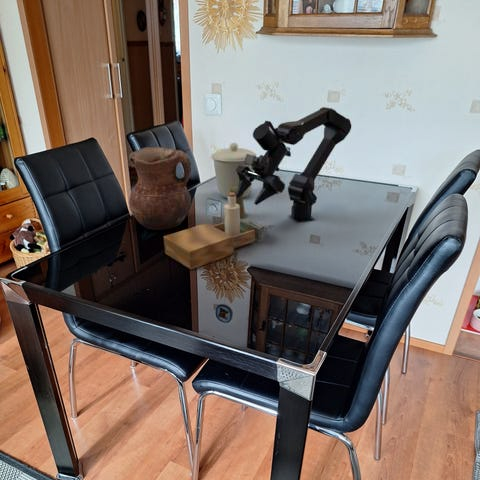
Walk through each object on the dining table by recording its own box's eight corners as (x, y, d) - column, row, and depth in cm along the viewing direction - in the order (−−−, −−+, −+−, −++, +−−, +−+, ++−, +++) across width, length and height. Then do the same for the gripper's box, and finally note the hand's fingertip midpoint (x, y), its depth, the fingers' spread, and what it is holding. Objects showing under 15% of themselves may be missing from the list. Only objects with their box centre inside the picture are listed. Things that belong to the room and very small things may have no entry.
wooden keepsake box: (207, 239, 146) (206, 223, 142) (233, 253, 137) (233, 236, 133) (165, 253, 137) (163, 236, 134) (190, 269, 128) (189, 251, 125)
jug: (142, 239, 147) (130, 163, 132) (125, 219, 162) (113, 149, 148) (202, 227, 155) (197, 154, 141) (181, 209, 170) (174, 142, 156)
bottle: (237, 233, 145) (236, 190, 137) (242, 238, 141) (241, 195, 133) (223, 234, 144) (221, 191, 136) (227, 240, 140) (226, 196, 132)
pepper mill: (243, 219, 161) (243, 189, 154) (227, 218, 162) (226, 189, 155) (246, 213, 166) (246, 184, 159) (231, 212, 167) (230, 184, 160)
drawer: (245, 225, 153) (245, 214, 151) (270, 236, 145) (271, 225, 143) (200, 240, 143) (199, 228, 141) (224, 253, 135) (224, 241, 132)
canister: (263, 193, 185) (264, 141, 174) (241, 205, 173) (240, 150, 161) (228, 186, 194) (227, 136, 182) (204, 197, 181) (201, 144, 169)
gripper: (239, 138, 139) (213, 179, 139) (280, 148, 127) (251, 193, 128) (257, 159, 148) (233, 198, 148) (297, 171, 136) (270, 213, 136)
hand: (245, 200), depth 140 cm, fingers open, 9 cm apart
